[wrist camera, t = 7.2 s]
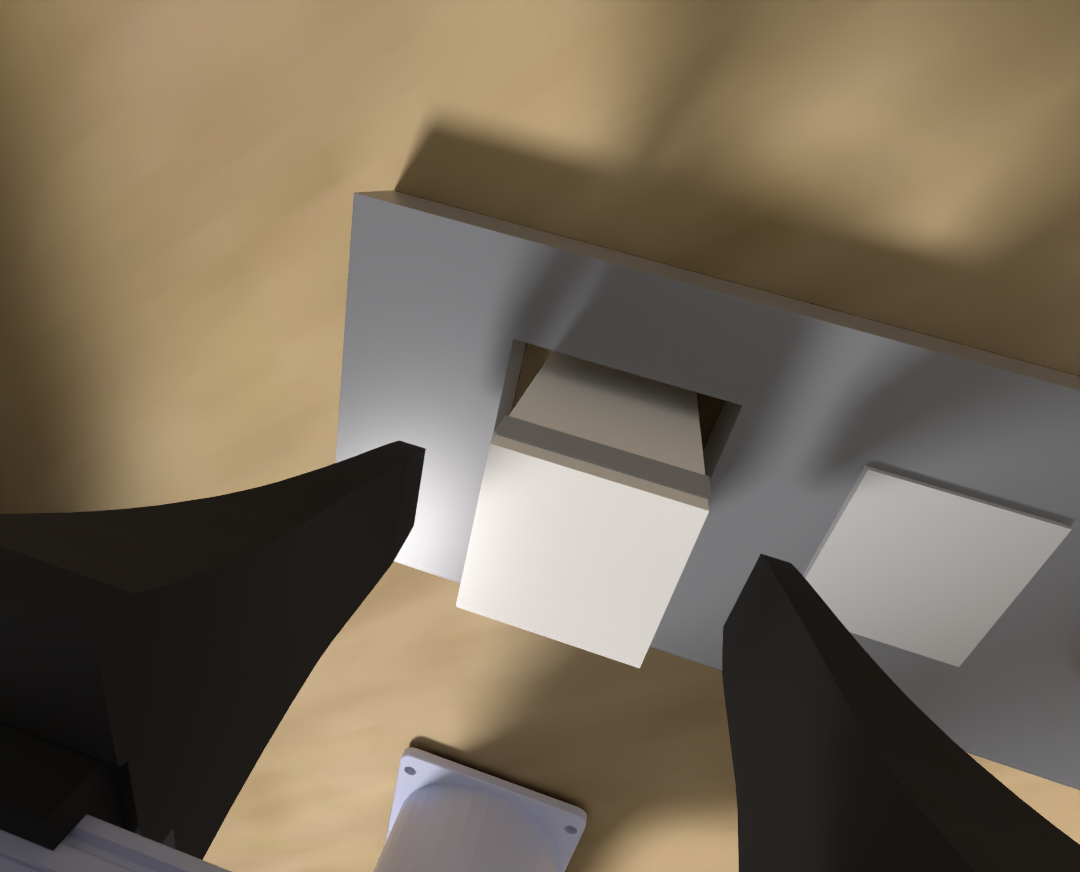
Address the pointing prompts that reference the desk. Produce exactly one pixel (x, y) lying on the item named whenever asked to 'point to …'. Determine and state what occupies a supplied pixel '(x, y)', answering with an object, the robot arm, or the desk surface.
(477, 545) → the block
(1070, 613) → the grey slab
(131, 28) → the desk surface
